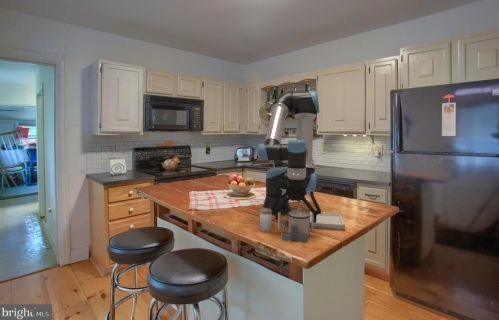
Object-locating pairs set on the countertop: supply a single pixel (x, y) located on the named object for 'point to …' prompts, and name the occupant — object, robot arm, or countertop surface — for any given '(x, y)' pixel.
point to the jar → (265, 219)
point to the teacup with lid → (298, 220)
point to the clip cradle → (293, 234)
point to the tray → (328, 221)
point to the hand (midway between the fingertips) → (295, 228)
